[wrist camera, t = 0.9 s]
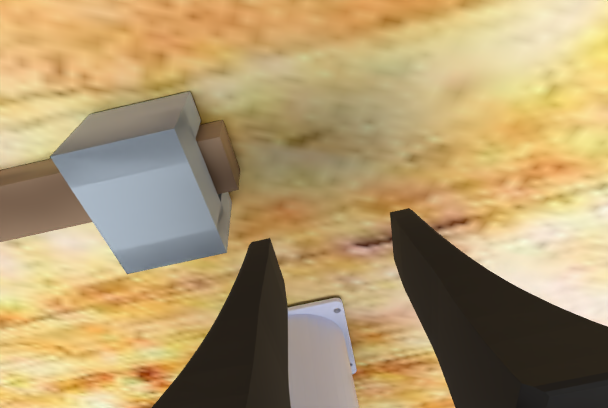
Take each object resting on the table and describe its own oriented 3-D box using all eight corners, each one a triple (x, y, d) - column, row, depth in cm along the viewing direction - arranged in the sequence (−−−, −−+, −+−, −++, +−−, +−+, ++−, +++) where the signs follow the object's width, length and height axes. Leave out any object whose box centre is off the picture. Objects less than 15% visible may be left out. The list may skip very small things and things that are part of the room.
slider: (231, 202, 22) (226, 252, 19) (147, 220, 22) (127, 274, 19) (190, 91, 18) (174, 128, 15) (89, 114, 19) (49, 156, 15)
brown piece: (252, 206, 23) (250, 258, 19) (-102, 283, 24) (-168, 347, 20) (205, 70, 18) (192, 105, 15) (-232, 171, 19) (-350, 229, 15)
